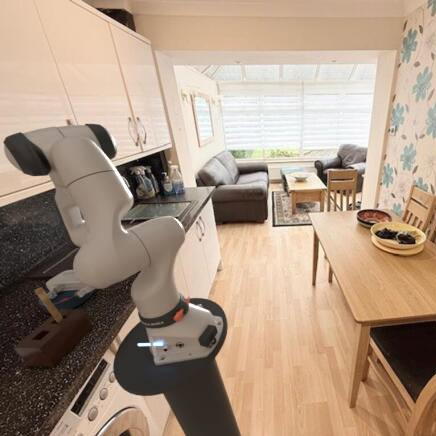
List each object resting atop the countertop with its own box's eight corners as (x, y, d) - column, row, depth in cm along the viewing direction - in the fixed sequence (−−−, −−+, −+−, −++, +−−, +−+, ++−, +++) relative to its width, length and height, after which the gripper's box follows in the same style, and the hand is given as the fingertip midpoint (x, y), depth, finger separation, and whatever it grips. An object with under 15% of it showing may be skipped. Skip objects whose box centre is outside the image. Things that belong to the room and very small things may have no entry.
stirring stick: (76, 334, 77) (43, 287, 69) (71, 339, 76) (38, 291, 67) (71, 334, 77) (38, 287, 69) (67, 339, 76) (32, 291, 67)
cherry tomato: (72, 303, 88) (73, 297, 90) (62, 301, 86) (64, 295, 88) (65, 309, 88) (67, 303, 90) (56, 307, 86) (58, 300, 88)
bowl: (104, 286, 99) (99, 276, 96) (72, 315, 85) (65, 305, 83) (71, 286, 100) (65, 277, 98) (34, 315, 86) (26, 305, 84)
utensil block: (93, 326, 80) (82, 309, 76) (54, 366, 68) (39, 348, 64) (71, 326, 80) (59, 309, 77) (29, 366, 68) (13, 347, 65)
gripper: (63, 263, 86) (25, 290, 74) (119, 260, 85) (89, 287, 73) (72, 277, 89) (36, 306, 76) (125, 274, 88) (98, 302, 76)
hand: (63, 296), depth 75 cm, fingers open, 8 cm apart
